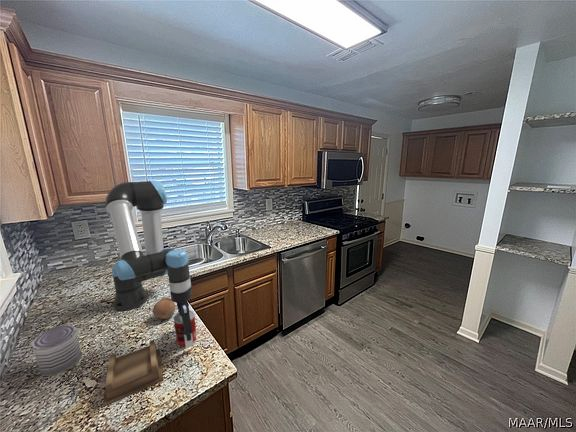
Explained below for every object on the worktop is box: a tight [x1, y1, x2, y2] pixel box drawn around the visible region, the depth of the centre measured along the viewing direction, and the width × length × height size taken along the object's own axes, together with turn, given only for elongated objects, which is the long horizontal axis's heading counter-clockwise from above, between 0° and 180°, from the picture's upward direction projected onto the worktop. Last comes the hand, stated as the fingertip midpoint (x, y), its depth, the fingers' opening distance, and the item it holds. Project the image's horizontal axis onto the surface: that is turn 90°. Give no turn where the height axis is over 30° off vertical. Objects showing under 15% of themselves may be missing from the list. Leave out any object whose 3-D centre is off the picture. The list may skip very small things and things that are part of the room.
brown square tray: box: [102, 339, 164, 408], centre depth 79 cm, size 16×16×6 cm
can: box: [29, 323, 83, 377], centre depth 84 cm, size 11×11×12 cm
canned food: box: [173, 310, 198, 347], centre depth 95 cm, size 8×8×11 cm
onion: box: [152, 296, 176, 321], centre depth 110 cm, size 10×9×10 cm
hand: (186, 335), depth 96 cm, fingers open, 13 cm apart
